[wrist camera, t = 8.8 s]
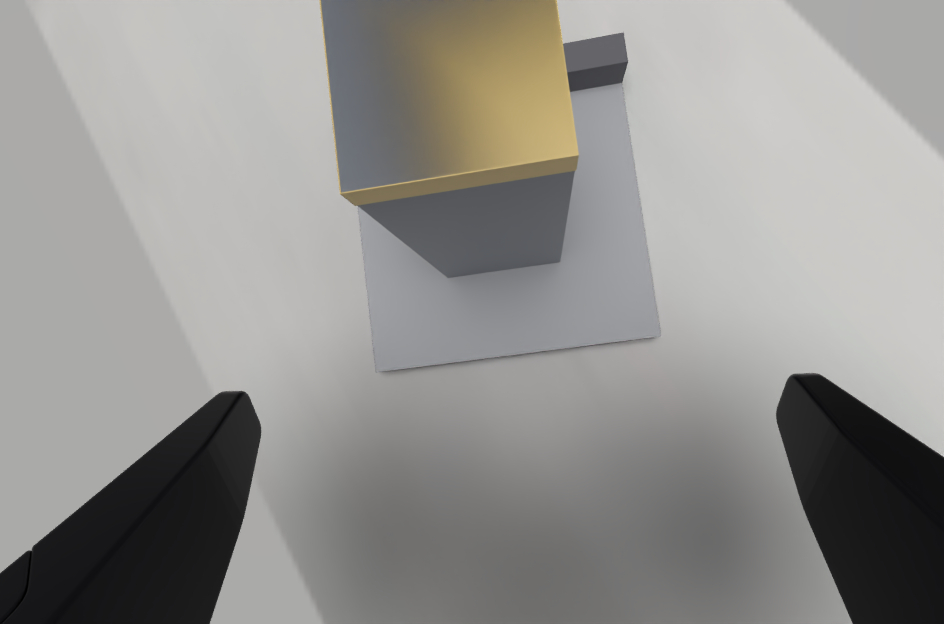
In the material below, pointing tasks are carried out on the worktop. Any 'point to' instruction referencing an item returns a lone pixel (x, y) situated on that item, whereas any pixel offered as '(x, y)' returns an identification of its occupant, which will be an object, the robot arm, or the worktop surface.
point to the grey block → (454, 126)
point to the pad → (543, 286)
